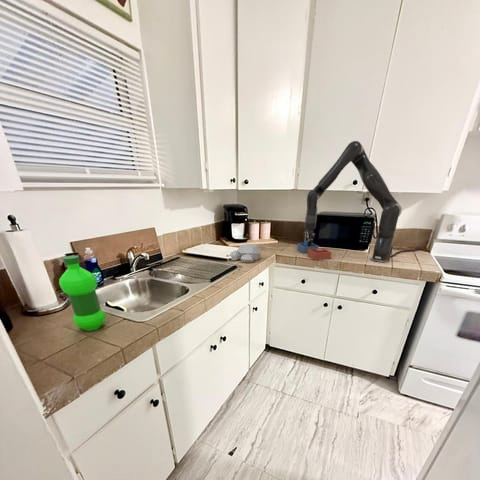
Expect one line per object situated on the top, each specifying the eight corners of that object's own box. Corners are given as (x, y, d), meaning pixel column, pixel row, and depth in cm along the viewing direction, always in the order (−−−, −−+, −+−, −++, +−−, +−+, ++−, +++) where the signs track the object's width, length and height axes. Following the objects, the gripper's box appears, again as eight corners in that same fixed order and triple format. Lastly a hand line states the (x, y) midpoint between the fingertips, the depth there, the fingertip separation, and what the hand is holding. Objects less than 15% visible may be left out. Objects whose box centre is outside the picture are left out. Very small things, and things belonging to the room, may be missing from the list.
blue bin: (310, 248, 195) (311, 242, 193) (317, 252, 185) (318, 245, 183) (296, 249, 193) (297, 243, 191) (303, 253, 183) (303, 246, 181)
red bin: (322, 254, 179) (323, 248, 177) (330, 258, 170) (331, 252, 168) (307, 255, 177) (308, 249, 175) (314, 259, 168) (315, 253, 166)
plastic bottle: (97, 335, 87) (73, 262, 75) (69, 333, 89) (42, 260, 77) (114, 321, 96) (96, 253, 84) (89, 319, 97) (67, 252, 85)
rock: (254, 264, 159) (254, 248, 155) (225, 261, 167) (225, 245, 162) (264, 257, 174) (265, 242, 169) (237, 254, 181) (237, 240, 176)
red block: (320, 255, 176) (321, 248, 174) (323, 257, 172) (324, 250, 170) (314, 255, 175) (314, 249, 173) (317, 257, 171) (318, 250, 169)
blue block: (309, 246, 190) (309, 239, 188) (311, 247, 186) (312, 241, 184) (303, 246, 189) (304, 240, 187) (305, 247, 185) (306, 241, 183)
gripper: (320, 223, 174) (316, 248, 182) (311, 220, 186) (308, 244, 195) (310, 223, 173) (306, 249, 181) (301, 220, 185) (298, 244, 193)
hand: (307, 246), depth 188 cm, fingers closed on blue block, 4 cm apart
